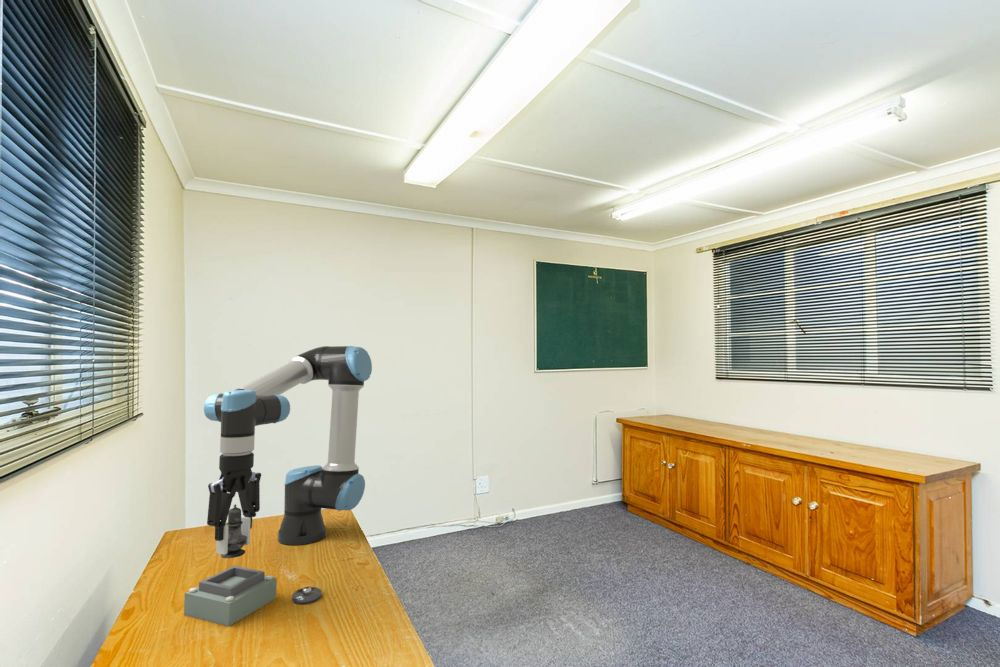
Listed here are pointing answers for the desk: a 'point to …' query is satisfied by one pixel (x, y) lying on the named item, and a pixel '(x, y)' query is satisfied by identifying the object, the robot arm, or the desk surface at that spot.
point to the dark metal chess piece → (235, 534)
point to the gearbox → (230, 595)
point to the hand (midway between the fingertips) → (233, 548)
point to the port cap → (306, 595)
